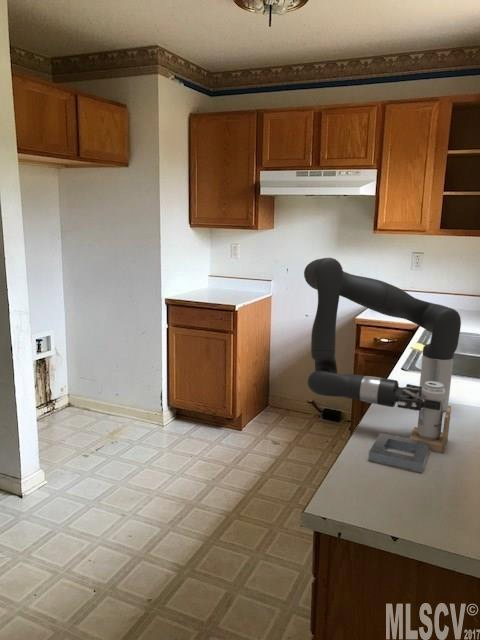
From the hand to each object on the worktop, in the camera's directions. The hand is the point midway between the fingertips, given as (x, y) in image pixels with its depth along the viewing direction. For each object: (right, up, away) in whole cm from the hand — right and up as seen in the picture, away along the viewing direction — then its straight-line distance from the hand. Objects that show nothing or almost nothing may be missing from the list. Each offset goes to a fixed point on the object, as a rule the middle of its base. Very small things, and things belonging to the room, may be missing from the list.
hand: (441, 402), depth 139 cm
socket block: (-13, -13, -4) cm, 19 cm away
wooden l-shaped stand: (-2, -12, +4) cm, 13 cm away
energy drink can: (-2, -10, +3) cm, 11 cm away
